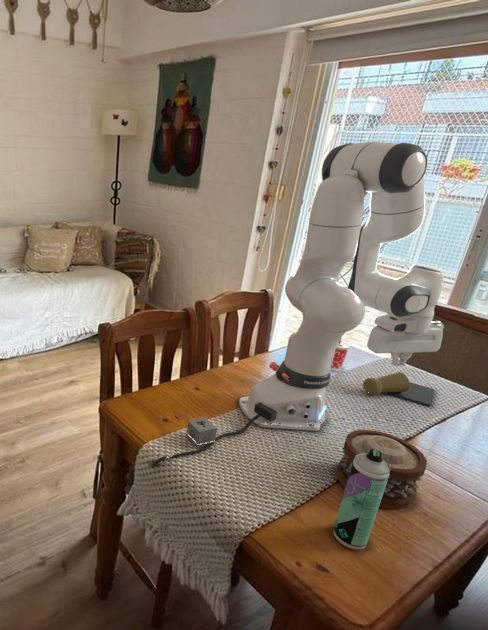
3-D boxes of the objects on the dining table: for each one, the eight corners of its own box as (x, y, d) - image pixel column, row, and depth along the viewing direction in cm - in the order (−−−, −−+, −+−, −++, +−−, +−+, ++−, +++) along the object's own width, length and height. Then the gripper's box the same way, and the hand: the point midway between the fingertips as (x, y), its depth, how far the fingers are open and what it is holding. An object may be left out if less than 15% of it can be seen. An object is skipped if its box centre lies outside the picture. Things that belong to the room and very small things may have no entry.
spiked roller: (450, 468, 86) (374, 467, 86) (434, 510, 90) (361, 510, 90) (398, 423, 100) (332, 423, 100) (385, 462, 104) (322, 462, 104)
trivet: (429, 406, 126) (430, 404, 126) (380, 392, 134) (380, 390, 134) (433, 390, 135) (433, 388, 135) (386, 377, 142) (387, 376, 142)
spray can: (354, 525, 86) (380, 441, 79) (373, 549, 81) (402, 461, 74) (327, 526, 86) (350, 442, 79) (344, 550, 81) (371, 462, 74)
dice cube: (202, 433, 114) (205, 417, 113) (214, 444, 110) (216, 428, 108) (186, 436, 113) (188, 420, 111) (197, 448, 108) (199, 431, 107)
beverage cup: (318, 365, 150) (327, 327, 145) (332, 363, 152) (341, 325, 147) (333, 373, 145) (343, 334, 140) (348, 371, 146) (358, 332, 141)
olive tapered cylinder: (409, 395, 130) (374, 400, 129) (392, 387, 136) (359, 392, 135) (410, 376, 129) (375, 381, 128) (393, 369, 135) (359, 374, 134)
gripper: (435, 316, 129) (421, 358, 134) (370, 318, 128) (358, 360, 133) (454, 324, 123) (439, 368, 128) (386, 326, 122) (373, 370, 127)
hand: (397, 364), depth 130 cm, fingers closed
